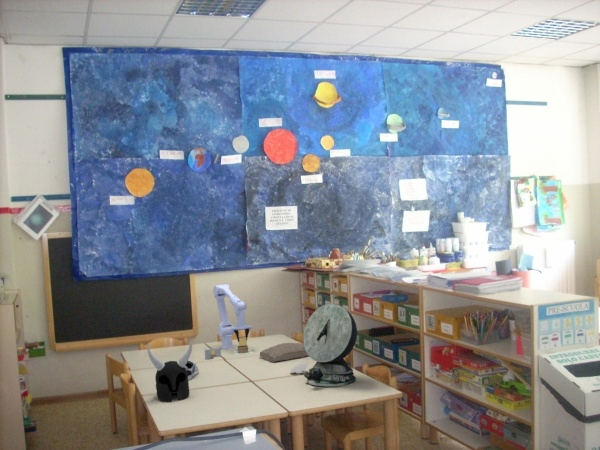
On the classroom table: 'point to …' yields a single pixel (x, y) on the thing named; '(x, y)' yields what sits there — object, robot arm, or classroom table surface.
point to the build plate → (243, 353)
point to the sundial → (330, 345)
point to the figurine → (299, 368)
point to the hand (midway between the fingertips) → (242, 341)
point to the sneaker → (191, 369)
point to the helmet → (171, 376)
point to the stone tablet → (284, 352)
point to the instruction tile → (212, 353)
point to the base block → (243, 349)
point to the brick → (242, 341)
